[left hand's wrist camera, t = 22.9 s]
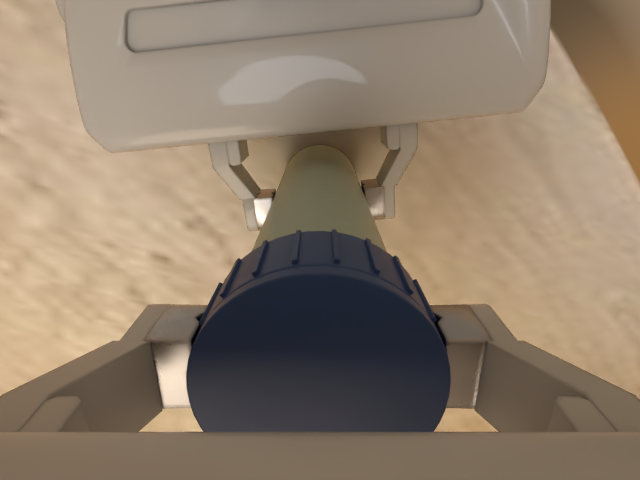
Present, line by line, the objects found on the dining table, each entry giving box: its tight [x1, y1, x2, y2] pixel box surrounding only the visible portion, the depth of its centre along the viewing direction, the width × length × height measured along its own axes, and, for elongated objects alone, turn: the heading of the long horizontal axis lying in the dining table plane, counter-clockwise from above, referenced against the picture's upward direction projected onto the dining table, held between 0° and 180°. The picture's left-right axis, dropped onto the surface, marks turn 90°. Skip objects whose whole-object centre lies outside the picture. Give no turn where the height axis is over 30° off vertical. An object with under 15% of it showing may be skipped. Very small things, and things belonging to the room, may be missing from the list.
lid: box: [186, 229, 451, 432], centre depth 9 cm, size 5×6×2 cm
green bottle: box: [252, 145, 387, 252], centre depth 17 cm, size 5×5×18 cm
